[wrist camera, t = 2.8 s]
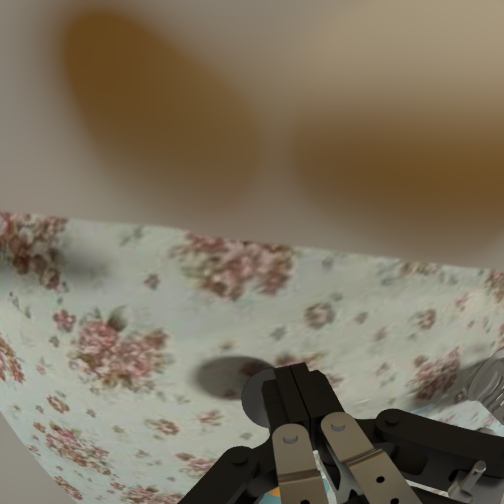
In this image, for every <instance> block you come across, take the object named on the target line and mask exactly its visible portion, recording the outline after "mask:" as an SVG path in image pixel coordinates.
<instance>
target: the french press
mask: <svg viewBox="0 0 504 504" xmlns="http://www.w3.org/2000/svg"><path fill="white" fill-rule="evenodd" d="M503 386H504V350H500V351H498V352H496V353H495V354H494V355H492V356H491V357H490V358H489V359H488V360H487V361H486V362H485V363H484V365H483V366H482V367H481V368H480V369H479V371H478V372H477V374H476V375H475V377H474V379H473V380H472V382H471V385H470V387H469V389H468V395H467V398H468V399H469V401H479V402H480V403H481V404H482V405H483V406H484V407H485V408H486V409H487V410H488V411H489V412H490V413H491V414H492V415H493V416H494V417H495V418H496V419H497V420H498V421H499V422H500V423H501V424H502V425H504V404H503V405H502V406H500V404H501V403H502V401H503V400H504V388H503V389H502V387H503ZM501 389H502V390H501ZM502 393H503V394H502ZM501 394H502V395H501ZM500 395H501V396H500ZM499 396H500V397H499ZM498 397H499V398H498ZM497 398H498V399H497ZM496 399H497V401H496Z"/></svg>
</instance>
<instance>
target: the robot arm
mask: <svg viewBox="0 0 504 504" xmlns="http://www.w3.org/2000/svg"><path fill="white" fill-rule="evenodd" d="M261 393H262V399H263V406H264V412H265V416H266V420H267V424H268V428H269V432H270V436H269V438H268V440H267V441H266V442H265V443H263V444H262V445H260V446H258V447H256V448H253V449H251V448H249V447H245V446H237V447H233V448H230V449H228V450H227V451H226V452H225V453H224V454H223V455H222V456H221V457H220V458H219V459H218V461H217V462H216V463H215V464H214V465H213V466H212V467H211V468H210V470H209V471H208V472H207V473H206V474H205V475H204V476H203V477H202V478H201V479H200V480H199V482H198V483H197V484H196V485H195V486H194V487H193V488H192V489H191V490H190V491H189V492H188V493H187V494H186V495H185V496H184V497H183V498H182V499H181V500H180V501H179V502H178V503H177V504H259V502H260V501H261V499H262V498H263V497H264V495H265V493H267V492H269V491H271V490H273V489H275V488H277V487H279V490H280V497H281V504H329V502H328V498H327V494H326V491H325V487H324V483H323V479H322V475H321V473H320V471H318V469H317V466H316V462H315V458H314V454H313V451H315V450H318V453H319V455H320V459H319V462H320V465H321V467H322V469H323V471H324V473H325V475H326V477H327V479H328V481H329V483H330V485H331V487H332V489H333V491H334V493H335V496H336V501H337V504H500V503H501V500H502V497H503V494H504V437H501V436H496V435H491V434H487V433H482V432H478V431H474V430H469V429H465V428H461V427H457V426H454V425H450V424H446V423H442V422H439V421H435V420H432V419H428V418H425V417H422V416H418V415H415V414H412V413H408V412H405V411H402V410H399V409H387V410H384V411H382V412H380V413H379V414H378V416H377V417H376V419H355V418H353V417H352V416H351V415H349V414H347V413H345V411H344V409H343V408H342V406H341V404H340V402H339V400H338V398H337V396H336V394H335V393H334V391H333V389H332V387H331V385H330V384H329V381H328V379H327V378H326V376H325V375H324V374H323V373H321V372H320V371H319V370H314V371H310V372H309V370H308V368H307V366H306V363H305V362H302V363H297V364H293V365H289V366H283V367H278V368H273V380H268V381H264V382H263V385H262V388H261ZM405 479H407V480H410V481H413V482H416V483H419V484H422V485H425V486H428V487H432V488H435V489H438V490H442V491H445V492H448V496H449V498H448V497H445V496H441V495H438V494H435V493H432V492H429V491H426V490H424V489H421V488H418V487H414V486H409V484H408V483H407V482H406V480H405Z"/></svg>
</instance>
